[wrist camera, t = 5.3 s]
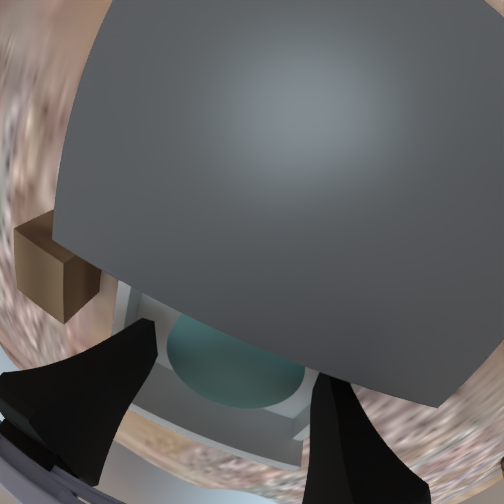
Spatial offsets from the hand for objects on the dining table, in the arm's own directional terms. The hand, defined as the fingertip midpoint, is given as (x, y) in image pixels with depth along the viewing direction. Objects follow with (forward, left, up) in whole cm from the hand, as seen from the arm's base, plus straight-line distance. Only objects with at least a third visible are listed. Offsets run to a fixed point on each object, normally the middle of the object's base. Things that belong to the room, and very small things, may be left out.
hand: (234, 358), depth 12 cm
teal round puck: (0, 0, -1) cm, 1 cm away
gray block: (0, -9, -3) cm, 10 cm away
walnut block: (+10, +2, -3) cm, 11 cm away
